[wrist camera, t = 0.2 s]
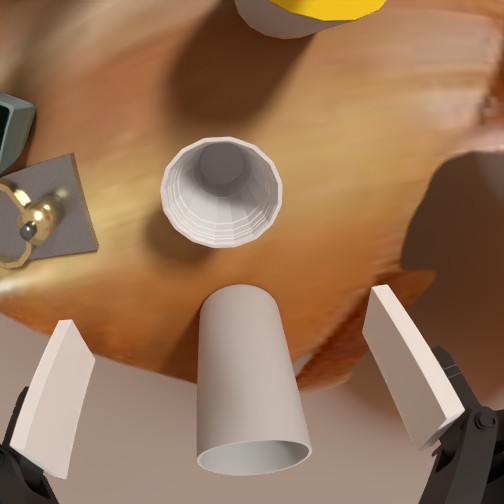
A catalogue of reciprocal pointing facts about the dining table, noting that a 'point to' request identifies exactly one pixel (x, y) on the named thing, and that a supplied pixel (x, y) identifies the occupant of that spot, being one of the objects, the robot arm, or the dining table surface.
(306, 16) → the soap bottle
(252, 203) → the plastic cup
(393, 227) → the dining table surface
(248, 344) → the cylinder vase
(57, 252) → the board
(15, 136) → the flower pot
